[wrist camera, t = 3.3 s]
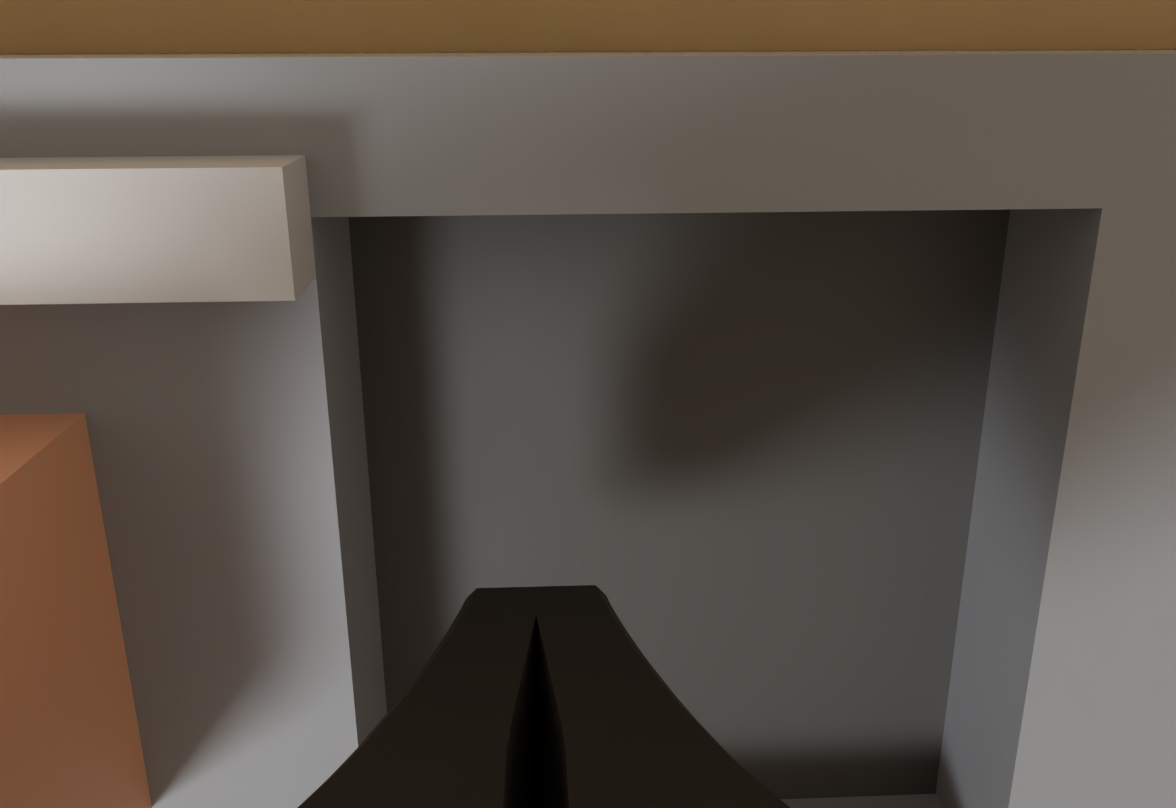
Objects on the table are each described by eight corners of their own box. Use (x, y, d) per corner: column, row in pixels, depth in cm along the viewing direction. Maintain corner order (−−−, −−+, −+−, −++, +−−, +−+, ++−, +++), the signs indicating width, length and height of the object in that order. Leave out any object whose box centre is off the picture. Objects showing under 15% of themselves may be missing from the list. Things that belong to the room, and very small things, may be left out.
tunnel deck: (1164, 844, 17) (1318, 1043, 13) (-837, 924, 15) (-1211, 1166, 12) (1338, 49, 13) (1617, 52, 10) (-1333, 59, 11) (-2088, 70, 8)
